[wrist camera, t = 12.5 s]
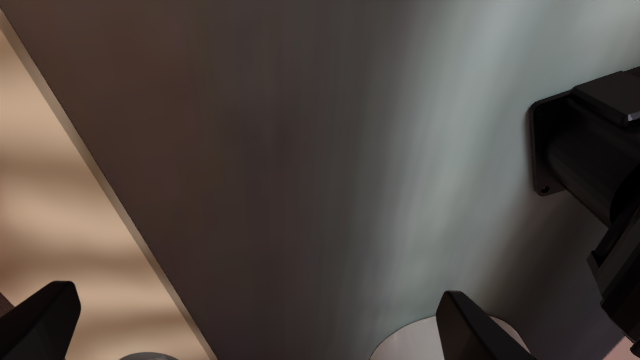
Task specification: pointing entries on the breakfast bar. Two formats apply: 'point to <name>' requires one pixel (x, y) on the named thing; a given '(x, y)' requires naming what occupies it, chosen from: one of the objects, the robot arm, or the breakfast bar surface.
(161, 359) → the fixed post
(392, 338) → the utensil holder
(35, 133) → the template board
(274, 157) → the breakfast bar surface
